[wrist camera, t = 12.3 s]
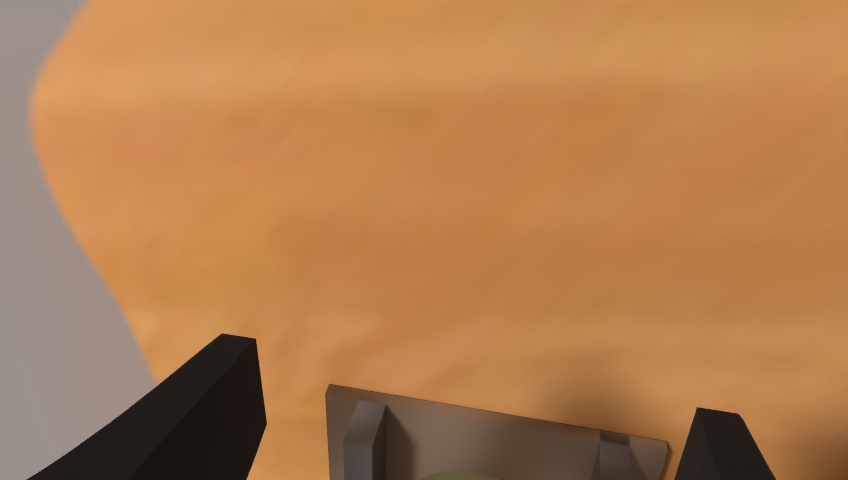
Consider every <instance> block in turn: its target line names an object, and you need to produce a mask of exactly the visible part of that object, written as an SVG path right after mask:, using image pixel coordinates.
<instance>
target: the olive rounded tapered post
mask: <svg viewBox="0 0 848 480" xmlns="http://www.w3.org/2000/svg"><path fill="white" fill-rule="evenodd" d="M419 480H502V479H498V478H495V477H492V476H488V475H485V474H481V473H478V472H464V471H447V472H441V473H435V474H429V475H427V476H425V477H423V478H421V479H419Z"/></svg>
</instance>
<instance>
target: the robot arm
mask: <svg viewBox="0 0 848 480" xmlns="http://www.w3.org/2000/svg"><path fill="white" fill-rule="evenodd" d="M266 425H267V422H266V414H265V406H264V398H263V391H262V383H261V375H260V367H259V360H258V352H257V344H256V339H254V338H248V337H241V336H235V335H228V334H221V335H219V336H218V337H217V338H216V339H214V340H213V341H212V342H211V343H209V344H208V345H207V346H205V347H204V348H203V349H202V350H201V351H199V352H198V353H197V354H196V355H194V356H193V357H192V358H191V359H190V360H188V361H187V362H186V363H185V364H184V365H182V366H181V367H180V368H179V369H177V370H176V371H175V372H174V373H173V374H171V375H170V376H169V377H168V378H166V379H165V380H164V381H163V382H161V383H160V384H159V385H158V386H157V387H155V388H154V389H153V390H152V391H150V392H149V393H148V394H146V395H145V396H144V397H143V398H141V399H140V400H139V401H137V402H136V403H135V404H134V405H132V406H131V407H130V408H129V409H127V410H126V411H125V412H123V413H122V414H121V415H120V416H118V417H117V418H116V419H114V420H113V421H112V422H110V423H109V424H108V425H106V426H105V427H103V428H102V429H101V430H99V431H98V432H96V433H95V434H94V435H92V436H91V437H90V438H88V439H87V440H85V441H84V442H82V443H81V444H80V445H78V446H77V447H76V448H74V449H73V450H71V451H70V452H68V453H67V454H66V455H64V456H63V457H61V458H60V459H58V460H57V461H55V462H54V463H52V464H51V465H49V466H48V467H46V468H45V469H43V470H41V471H40V472H38V473H37V474H35V475H33V476H32V477H30V478H29V479H27V480H246V479H247V477H248V474H249V471H250V469H251V466H252V464H253V461H254V458H255V456H256V453H257V450H258V447H259V445H260V442H261V439H262V436H263V433H264V430H265V427H266ZM674 480H776V479H775V477H774V475H773V474H772V472H771V470H770V468H769V467H768V465H767V463H766V461H765V459H764V458H763V456H762V454H761V452H760V450H759V448H758V447H757V445H756V443H755V441H754V439H753V437H752V435H751V434H750V432H749V430H748V428H747V426H746V424H745V422H744V420H743V419H742V418H741V417H740V415H739V414H737V413H730V412H724V411H717V410H711V409H705V408H698V407H697V409H696V413H695V416H694V419H693V422H692V425H691V428H690V432H689V435H688V438H687V441H686V444H685V448H684V451H683V454H682V457H681V460H680V463H679V467H678V470H677V473H676V476H675V479H674Z"/></svg>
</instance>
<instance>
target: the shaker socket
mask: <svg viewBox="0 0 848 480" xmlns="http://www.w3.org/2000/svg"><path fill="white" fill-rule="evenodd" d="M325 398H326V417H327V435H328V454H329V472H330V480H419V479H421V478H423V477H425V476H427V475H429V474H435V473H441V472H447V471H464V472H478V473H481V474H485V475H488V476H492V477H495V478H498V479H502V480H659V479H660V476H661V473H662V470H663V467H664V463H665V460H666V457H667V454H668V450H667V442H666V441H660V440H654V439H648V438H642V437H637V436H631V435H625V434H619V433H613V432H607V431H601V430H595V429H590V428H584V427H578V426H572V425H566V424H560V423H554V422H549V421H543V420H537V419H531V418H525V417H519V416H513V415H507V414H502V413H496V412H490V411H484V410H478V409H472V408H466V407H460V406H455V405H449V404H443V403H437V402H431V401H425V400H419V399H413V398H408V397H402V396H396V395H390V394H384V393H378V392H372V391H367V390H361V389H355V388H349V387H343V386H337V385H331V384H329V386H328V389H327V391H326V393H325Z"/></svg>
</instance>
